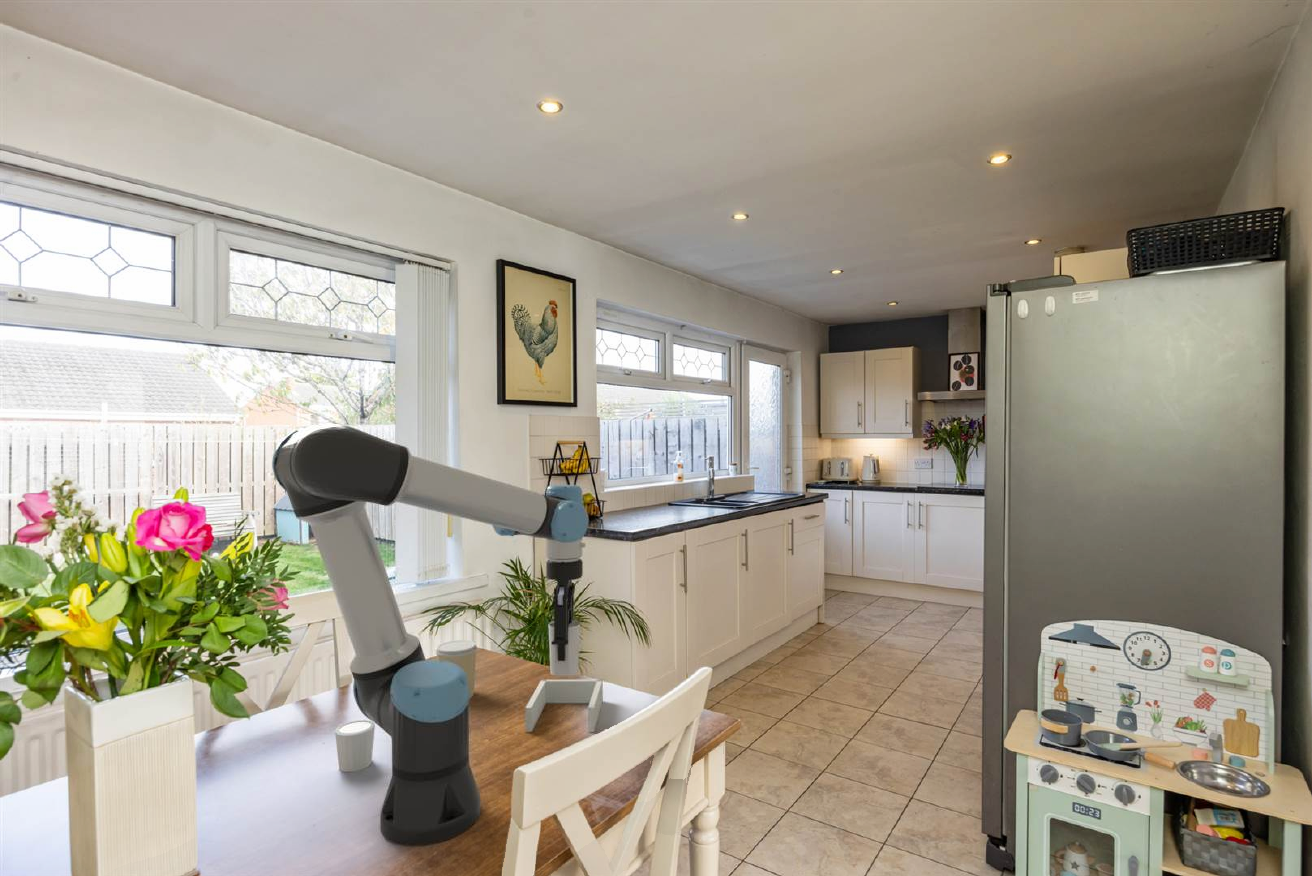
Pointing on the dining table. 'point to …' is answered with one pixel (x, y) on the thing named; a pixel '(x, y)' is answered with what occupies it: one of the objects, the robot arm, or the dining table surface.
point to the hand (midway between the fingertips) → (564, 670)
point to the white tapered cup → (355, 745)
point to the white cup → (573, 647)
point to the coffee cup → (460, 658)
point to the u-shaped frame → (566, 698)
